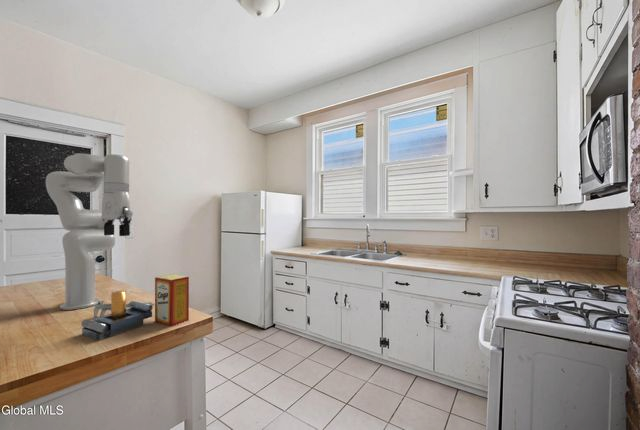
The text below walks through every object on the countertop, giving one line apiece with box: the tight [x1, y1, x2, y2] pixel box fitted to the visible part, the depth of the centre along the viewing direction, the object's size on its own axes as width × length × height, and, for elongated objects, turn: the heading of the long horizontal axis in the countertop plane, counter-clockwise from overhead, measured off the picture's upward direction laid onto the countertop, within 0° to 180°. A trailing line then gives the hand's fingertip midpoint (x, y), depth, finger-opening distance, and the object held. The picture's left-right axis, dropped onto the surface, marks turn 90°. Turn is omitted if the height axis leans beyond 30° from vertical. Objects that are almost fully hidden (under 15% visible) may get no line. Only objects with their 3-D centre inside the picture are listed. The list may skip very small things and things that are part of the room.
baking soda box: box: [154, 273, 190, 328], centre depth 99 cm, size 10×6×16 cm
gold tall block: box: [110, 290, 127, 320], centre depth 93 cm, size 4×4×12 cm
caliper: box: [93, 300, 155, 319], centre depth 110 cm, size 20×1×6 cm, turn 142°
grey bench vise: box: [81, 300, 154, 341], centre depth 93 cm, size 10×16×6 cm, turn 154°
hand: (116, 235), depth 102 cm, fingers open, 9 cm apart
